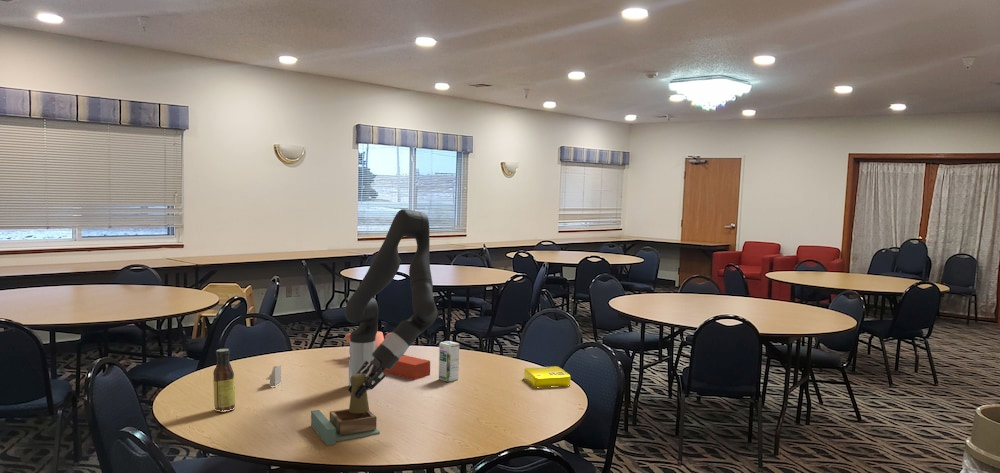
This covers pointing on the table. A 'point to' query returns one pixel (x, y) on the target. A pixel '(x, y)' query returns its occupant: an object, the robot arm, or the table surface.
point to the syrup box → (448, 361)
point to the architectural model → (275, 376)
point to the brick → (410, 367)
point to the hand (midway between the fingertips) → (353, 394)
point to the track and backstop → (332, 429)
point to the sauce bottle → (223, 382)
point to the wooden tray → (352, 421)
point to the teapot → (378, 339)
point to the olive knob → (362, 402)
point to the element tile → (546, 376)
